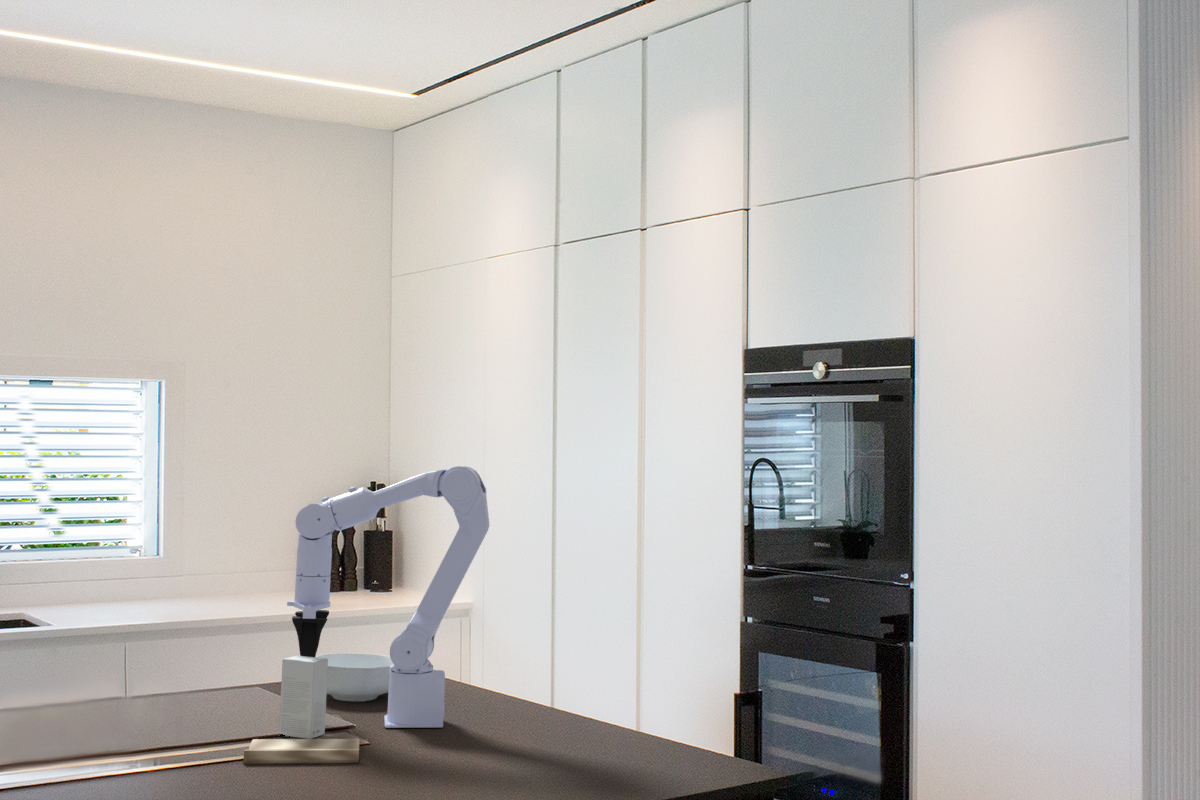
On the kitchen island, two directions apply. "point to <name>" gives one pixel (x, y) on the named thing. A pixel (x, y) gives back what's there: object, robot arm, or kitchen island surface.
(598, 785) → the kitchen island surface
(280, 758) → the gold metal board
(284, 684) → the skincare box
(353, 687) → the cereal bowl
